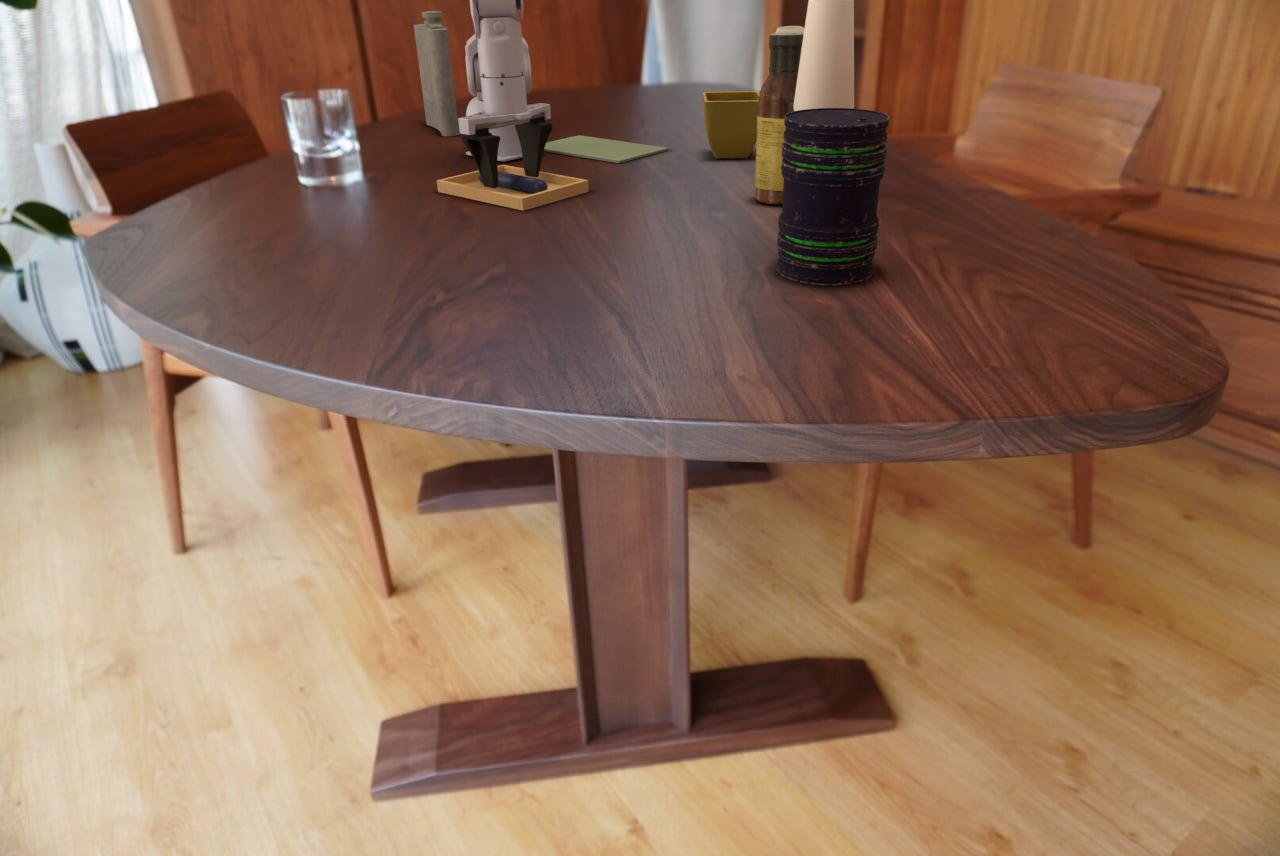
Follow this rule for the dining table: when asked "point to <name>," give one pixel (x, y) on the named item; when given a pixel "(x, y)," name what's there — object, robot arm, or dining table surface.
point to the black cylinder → (831, 194)
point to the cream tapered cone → (827, 57)
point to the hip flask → (436, 74)
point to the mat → (601, 149)
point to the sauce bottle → (775, 114)
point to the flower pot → (731, 122)
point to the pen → (519, 183)
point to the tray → (511, 198)
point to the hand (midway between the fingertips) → (511, 181)
